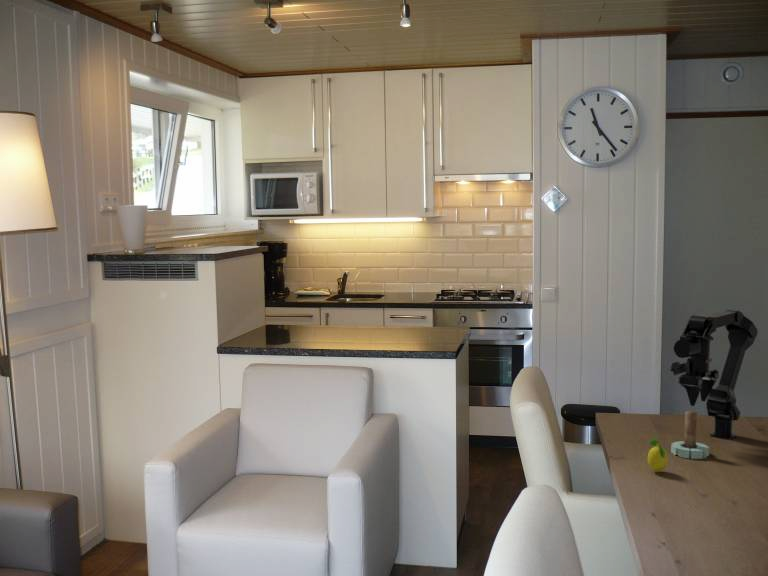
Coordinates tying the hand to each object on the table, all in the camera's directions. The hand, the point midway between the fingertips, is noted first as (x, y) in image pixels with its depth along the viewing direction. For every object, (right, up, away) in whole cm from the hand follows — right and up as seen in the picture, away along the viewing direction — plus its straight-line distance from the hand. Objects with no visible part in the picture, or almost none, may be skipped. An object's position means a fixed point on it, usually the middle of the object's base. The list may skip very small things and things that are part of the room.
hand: (697, 403), depth 266 cm
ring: (-6, -14, -10) cm, 19 cm away
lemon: (-22, -16, -28) cm, 39 cm away
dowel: (-6, -14, -10) cm, 19 cm away
